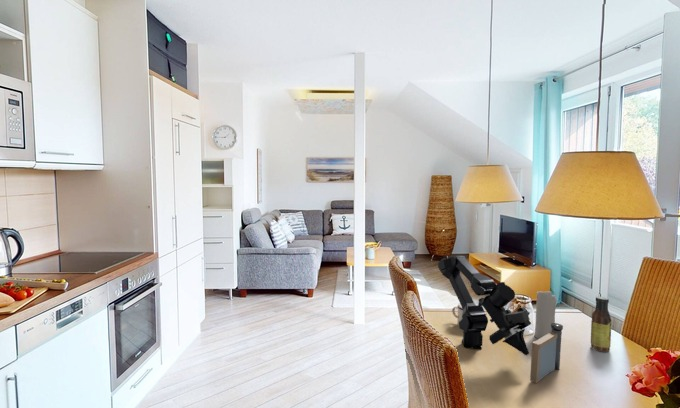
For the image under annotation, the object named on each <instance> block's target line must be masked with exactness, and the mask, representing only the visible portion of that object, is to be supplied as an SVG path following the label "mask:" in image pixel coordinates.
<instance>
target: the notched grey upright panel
mask: <svg viewBox="0 0 680 408" xmlns="http://www.w3.org/2000/svg"><path fill="white" fill-rule="evenodd" d="M557 301H558V299H557V297H556V295H553V294H552V291H542V290H540V291H537V292H536V305H535V327H534V337H535V338H536V339H537V340H538V339H540V338H542V337H543V336H545V335H547V334H548V333H550V332H551V329H552V328H551V323H556V320H555V319H556V307H557Z"/></svg>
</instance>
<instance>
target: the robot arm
mask: <svg viewBox="0 0 680 408" xmlns="http://www.w3.org/2000/svg"><path fill="white" fill-rule="evenodd" d="M437 267H438V270H439V271H440V273H441V275H442V276H443V277H445V278H446V279H448V280H449V282H450V284H451V286H452V289H453V291H454V293H455V296H456V297H457V300H458V301H459V303H460V304H461V306H462V308H463V313H462V318H463V319H462V320H461V321H460V322H459V326H458V327H459V329H460V330H461V331H462V339H461V342H462V345H463V348H466V349H475V350H482V349H483V348H482V347H483V340H484V339H483V337H484V336H483V334H482V332H486V330H487V326H488V323H489V321H490V322H491V323H494V324H495V325H496V327H497V328H498V329H497V330H496V331H494V332H492V333H491V334H490V335H489V339H488V340H489V341H490V343H491V344H492V345H496V344H497V343H498V342H500V341H501V340H502V339H504V340H502V343H505V344H507V345H509V346H511V347H512V348H514V349H516V350H517V351H519V352H520V353H522V354H523V355H524V356H527V355H529V354H530V352H529V349H528V347H527V346H528V345H527V342H526V340H525V338H524V332H525V330H526V329H525V328H527V327H528V326H530V325H532V322H531V321H530V319H531V318H530V317H529V315H530V312H529V311H528V309H526V307H525V306H522V307H519V308H517V310H516V311H515V312H512V310H510V309H506V308H505V307H506V306H507V304H509V303H510V302H512V301H513V300H514V299H515V298H516V293H515V290H514V289H513V288H511V286H509V285H507V284H506V283H505V281H500V282H498V283H496V282H495V281H494V279H493V278H491V277H489V276H487V275H485V274H482V273H481V272H479V270H477V269H476V268H475V267H474V266H473V265H472V264H471V263H470V262H469V261H468V259H467V257H466V256H464V255H454V256H450V257H449V258H441V259H440V261H438V264H437ZM461 274H462V275H463V276H464V277H465V278H466V280H468V281H469V283H470V288H471V290H472V291H473V292H474V294H475V295H476V296H477V297H478V296H479V297H480V296H484V297H481V298H479V299H478V303H477V304H476V303H475V301H474V300H473V297H472V296H471V294H470V292H469V289H468V287H467V286H466V283H465V281H464V279H463V278H462V276H461ZM475 304H476V305H475ZM487 315H489V317H490V319H488V316H487Z"/></svg>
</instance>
